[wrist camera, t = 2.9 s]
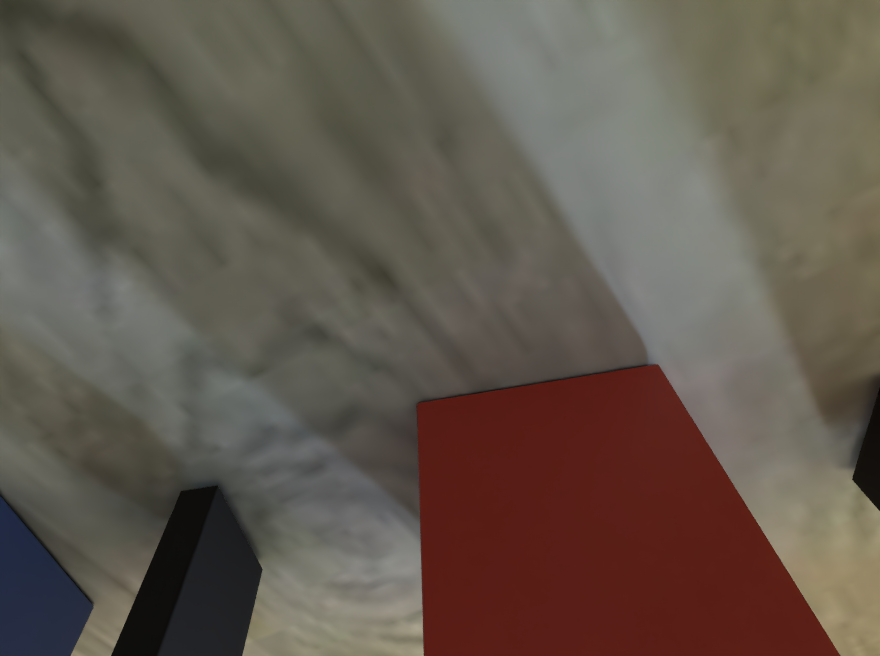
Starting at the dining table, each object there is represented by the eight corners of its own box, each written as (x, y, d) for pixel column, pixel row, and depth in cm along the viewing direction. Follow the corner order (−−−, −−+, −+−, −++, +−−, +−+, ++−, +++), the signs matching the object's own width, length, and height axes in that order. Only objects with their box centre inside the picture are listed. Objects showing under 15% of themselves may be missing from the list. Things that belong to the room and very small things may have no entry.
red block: (416, 402, 11) (426, 791, 6) (658, 363, 11) (889, 730, 6) (453, 551, 13) (483, 918, 8) (650, 522, 13) (807, 880, 8)
